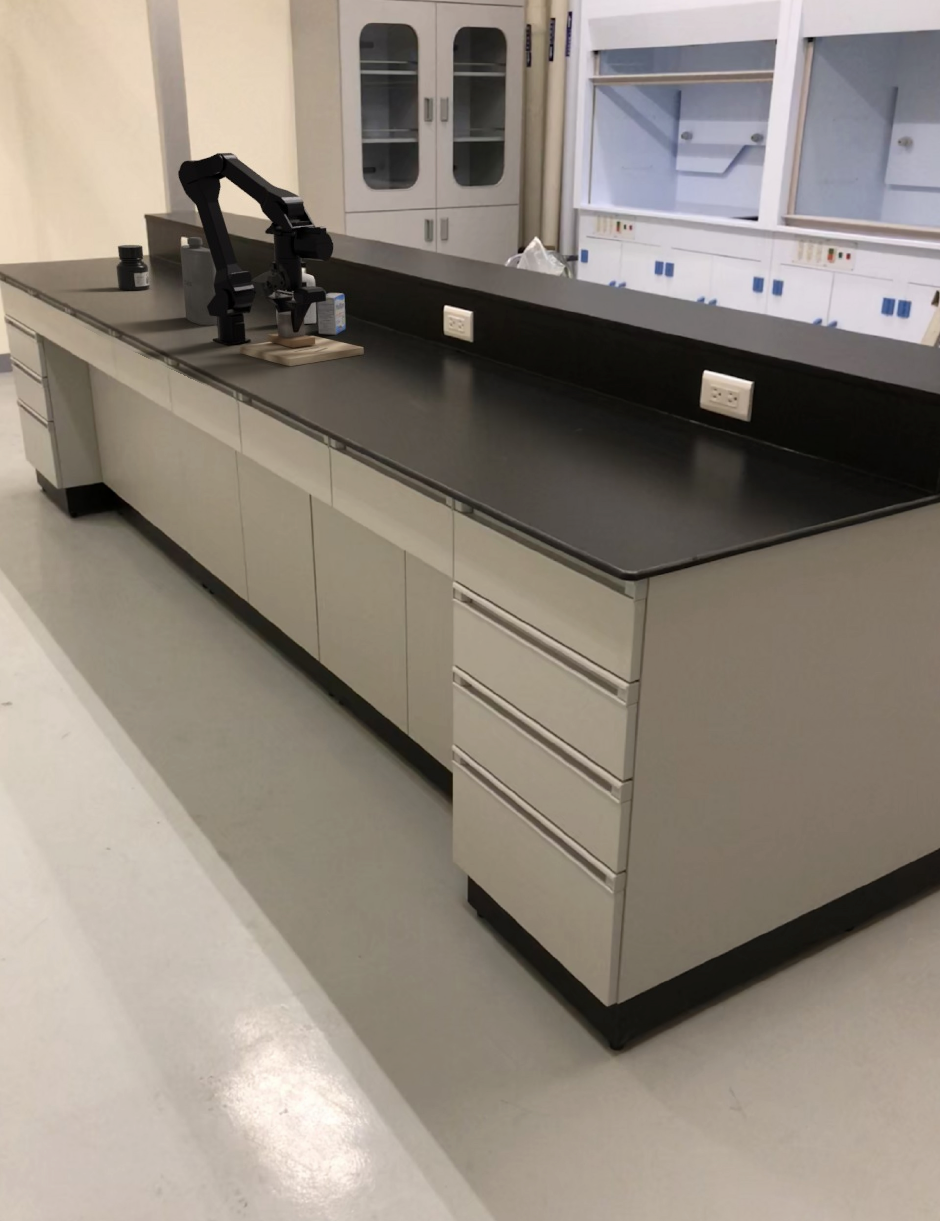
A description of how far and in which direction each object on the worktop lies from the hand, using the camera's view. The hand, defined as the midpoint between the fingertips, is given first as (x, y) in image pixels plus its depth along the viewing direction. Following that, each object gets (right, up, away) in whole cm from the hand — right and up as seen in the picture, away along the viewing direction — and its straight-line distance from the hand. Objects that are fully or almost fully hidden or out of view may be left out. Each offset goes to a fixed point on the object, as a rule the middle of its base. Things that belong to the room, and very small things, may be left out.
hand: (291, 331), depth 244 cm
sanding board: (+2, -5, -1) cm, 6 cm away
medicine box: (+6, +6, +25) cm, 26 cm away
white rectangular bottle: (-4, +10, +34) cm, 35 cm away
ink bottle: (-59, +33, +82) cm, 107 cm away
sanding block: (0, -2, +1) cm, 2 cm away
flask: (-28, +11, +35) cm, 46 cm away
